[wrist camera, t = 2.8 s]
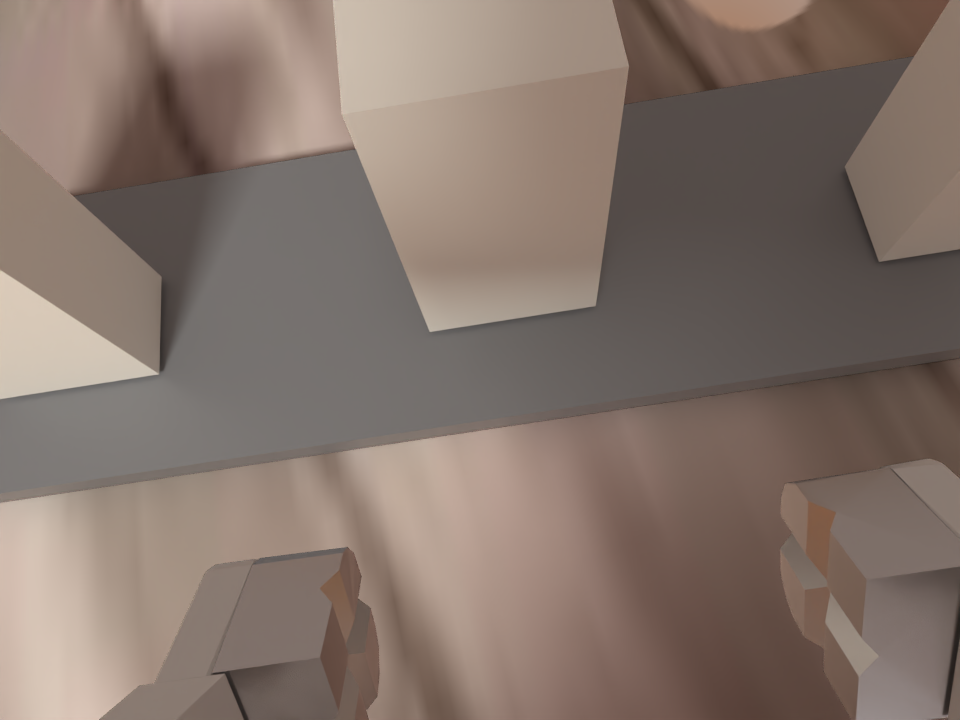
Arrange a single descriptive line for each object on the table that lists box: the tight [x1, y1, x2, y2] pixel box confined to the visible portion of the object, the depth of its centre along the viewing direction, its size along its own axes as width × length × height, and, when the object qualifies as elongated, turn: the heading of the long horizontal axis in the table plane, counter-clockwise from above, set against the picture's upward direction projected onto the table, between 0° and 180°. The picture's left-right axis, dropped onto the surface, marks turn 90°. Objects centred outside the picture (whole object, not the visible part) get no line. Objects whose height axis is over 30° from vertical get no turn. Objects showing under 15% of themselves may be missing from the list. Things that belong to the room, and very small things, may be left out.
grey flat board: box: [0, 56, 960, 503], centre depth 28 cm, size 12×42×1 cm, turn 97°
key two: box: [333, 0, 629, 332], centre depth 22 cm, size 4×6×12 cm
